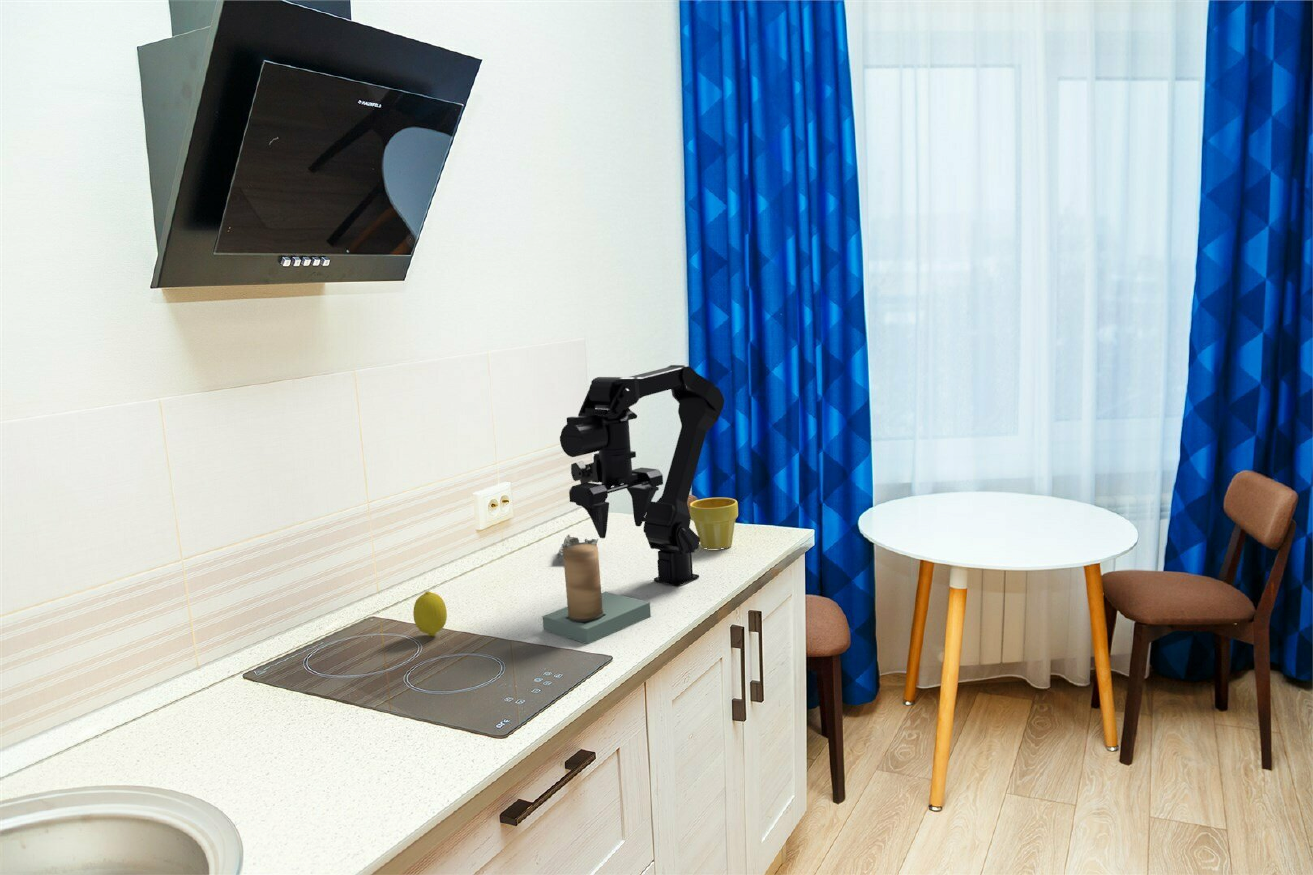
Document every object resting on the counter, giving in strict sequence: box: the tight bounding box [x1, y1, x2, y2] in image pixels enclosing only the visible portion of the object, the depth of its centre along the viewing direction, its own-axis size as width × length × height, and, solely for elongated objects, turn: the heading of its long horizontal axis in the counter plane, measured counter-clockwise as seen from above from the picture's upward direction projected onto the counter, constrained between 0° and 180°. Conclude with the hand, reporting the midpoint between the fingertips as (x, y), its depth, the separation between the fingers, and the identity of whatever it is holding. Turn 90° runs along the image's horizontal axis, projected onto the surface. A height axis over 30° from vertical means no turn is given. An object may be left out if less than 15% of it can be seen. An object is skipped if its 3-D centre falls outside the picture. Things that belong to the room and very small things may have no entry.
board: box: [541, 591, 652, 645], centre depth 162 cm, size 15×11×2 cm
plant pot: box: [689, 497, 739, 549], centre depth 203 cm, size 10×10×10 cm
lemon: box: [412, 590, 448, 637], centre depth 161 cm, size 6×6×8 cm
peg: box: [563, 544, 603, 624], centre depth 158 cm, size 6×6×14 cm
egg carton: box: [557, 534, 599, 565], centre depth 203 cm, size 11×8×4 cm
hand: (620, 531), depth 171 cm, fingers open, 9 cm apart
